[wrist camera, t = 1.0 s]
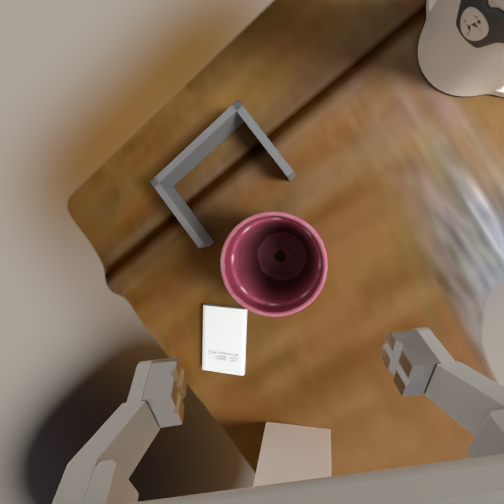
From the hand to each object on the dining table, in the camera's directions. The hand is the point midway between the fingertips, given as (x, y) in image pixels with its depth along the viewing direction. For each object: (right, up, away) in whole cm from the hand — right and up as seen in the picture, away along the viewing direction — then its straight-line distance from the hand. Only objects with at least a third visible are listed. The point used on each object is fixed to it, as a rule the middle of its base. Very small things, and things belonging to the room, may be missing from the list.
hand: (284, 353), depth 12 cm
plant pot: (+4, +4, +39) cm, 40 cm away
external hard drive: (-6, -12, +44) cm, 46 cm away
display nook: (-6, +16, +40) cm, 44 cm away
